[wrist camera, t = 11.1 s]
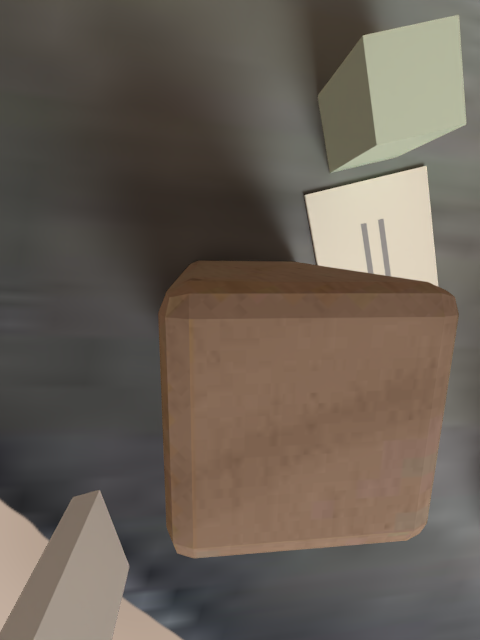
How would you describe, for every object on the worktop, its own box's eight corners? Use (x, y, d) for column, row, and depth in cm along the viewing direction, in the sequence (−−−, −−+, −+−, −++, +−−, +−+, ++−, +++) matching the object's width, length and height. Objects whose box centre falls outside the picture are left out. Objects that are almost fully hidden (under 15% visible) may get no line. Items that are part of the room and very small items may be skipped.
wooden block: (187, 260, 29) (152, 284, 9) (299, 261, 30) (478, 285, 10) (189, 369, 31) (164, 575, 11) (294, 366, 32) (435, 551, 13)
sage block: (317, 96, 27) (362, 35, 19) (386, 80, 28) (458, 14, 20) (329, 173, 29) (376, 145, 21) (395, 157, 29) (466, 124, 21)
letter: (304, 195, 29) (305, 194, 28) (424, 166, 29) (426, 165, 29) (335, 365, 32) (336, 366, 32) (441, 336, 33) (443, 337, 33)
